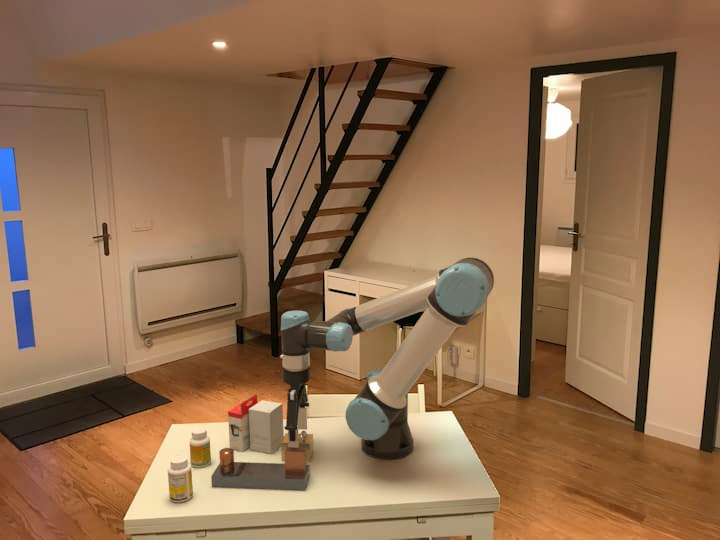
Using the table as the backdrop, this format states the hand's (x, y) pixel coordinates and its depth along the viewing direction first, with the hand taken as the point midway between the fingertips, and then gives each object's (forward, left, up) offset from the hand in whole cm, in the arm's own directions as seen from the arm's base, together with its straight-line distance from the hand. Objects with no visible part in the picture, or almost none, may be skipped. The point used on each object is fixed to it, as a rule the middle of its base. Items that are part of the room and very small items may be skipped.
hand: (298, 439), depth 165 cm
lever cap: (0, 0, -5) cm, 5 cm away
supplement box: (+10, -5, -5) cm, 12 cm away
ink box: (+17, -6, -5) cm, 19 cm away
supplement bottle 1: (+25, +23, -5) cm, 34 cm away
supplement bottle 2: (+26, +6, -5) cm, 27 cm away
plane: (+7, +14, -5) cm, 16 cm away
